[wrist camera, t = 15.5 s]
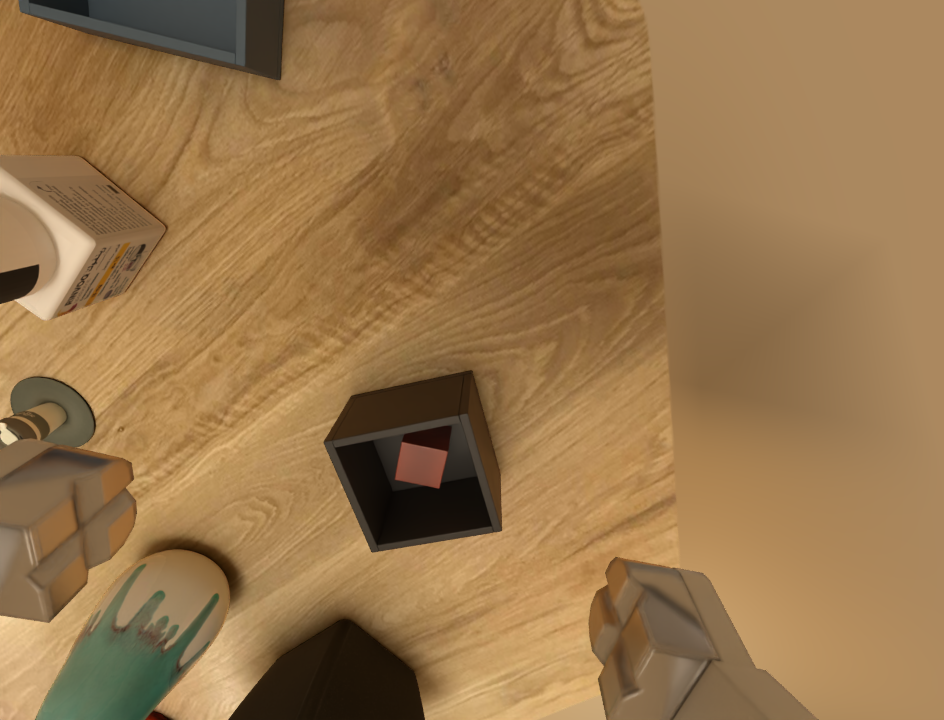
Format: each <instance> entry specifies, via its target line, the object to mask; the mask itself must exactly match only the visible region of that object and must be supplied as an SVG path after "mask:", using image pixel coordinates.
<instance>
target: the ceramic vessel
mask: <svg viewBox="0 0 944 720" xmlns="http://www.w3.org/2000/svg"><path fill="white" fill-rule="evenodd" d="M145 720H169V719H168V718H166V717H164V716H163V715H162V714H160V713H156V712H151V713H150V715H149V716H148V717H147V718H146V719H145Z"/></svg>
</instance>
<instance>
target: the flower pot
mask: <svg viewBox="0 0 944 720" xmlns="http://www.w3.org/2000/svg"><path fill="white" fill-rule="evenodd" d="M228 720H425V717H424V712H423V707H422V702H421V697H420V692H419V688H418V683H417V680H416V676H415V673H414V672H413V671H412V670H411V669H410V668H409V667H407V666H406V665H405V664H404V663H402V662H401V661H400V660H399V659H397V658H396V657H395V656H394V655H392V654H391V653H390V652H389V651H388V650H386V649H385V648H384V647H383V646H381V645H380V644H379V643H377V642H376V641H375V640H374V639H373V638H371V637H370V636H369V635H368V634H366V633H365V632H364V631H363V630H361V629H360V628H359V627H357V626H356V625H355V624H354V623H352V622H351V621H349V620H341V621H339V622H337V623H335V624H334V625H332V626H331V627H329V628H327V629H326V630H324V631H322V632H321V633H319V634H318V635H316V636H314V637H313V638H311V639H309V640H308V641H306V642H304V643H303V644H301V645H300V646H298V647H296V648H295V649H293V650H292V651H290V652H288V653H287V654H285V655H283V656H282V657H280V658H279V659H277V660H276V662H275V663H274V664H273V665H272V666H271V667H270V668H269V670H268V671H267V672H266V673H265V674H264V675H263V677H262V678H261V679H260V680H259V681H258V683H257V684H256V685H255V686H254V688H253V689H252V690H251V691H250V692H249V694H248V695H247V696H246V697H245V699H244V700H243V701H242V702H241V704H240V705H239V706H238V708H237V709H236V710H235V711H234V713H233V714H232V715H231V717H230V718H229V719H228Z"/></svg>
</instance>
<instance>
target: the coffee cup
mask: <svg viewBox="0 0 944 720" xmlns="http://www.w3.org/2000/svg"><path fill="white" fill-rule="evenodd" d="M11 407H12V411H13V413H14V415H12V416H10V417H9V418H4V419H2V420H0V450H1V449H3V448H4V447H6V446H8V445H9V444H11V443H13V442H15V441H17V440H23V439H29V438H32V439H37V440H41V441H45V442H49V443H54V444H58V445H66V446H71V447H75V448H76V447H79V446H82V445H83V444H85V443H86V442H88V441H89V439H90V438H91V436H92V434H93V431H94V420H93V416H92V412H91V410H90V408H89V406H88V404H87V403H86V401H85V400H84V399H83V398H82V397H81V396H80V395H79V394H78V393H77V392H76V391H75V390H73V389H72V388H70V387H69V386H67V385H65V384H63V383H60V382H58V381H55V380H52V379H48V378H42V377H34V378H28V379H25V380H22V381H21V382H19V383H18V384H17V385H16V386H15V387H14V389H13V390H12V393H11Z"/></svg>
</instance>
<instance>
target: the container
mask: <svg viewBox="0 0 944 720" xmlns="http://www.w3.org/2000/svg"><path fill="white" fill-rule="evenodd" d="M165 230H166V228H165V226H164V225H163V224H162V223H161V222H160V221H158V220H157V219H156V218H155V217H154V216H152V215H151V214H150V213H149V212H147V211H146V210H145V209H144V208H143V207H141V206H140V205H139V204H138V203H136V202H135V201H134V200H133V199H132V198H130V197H129V196H128V195H127V194H125V193H124V192H123V191H122V190H121V189H119V188H118V187H117V186H116V185H114V184H113V183H112V182H111V181H110V180H108V179H107V178H106V177H105V176H103V175H102V174H101V173H100V172H99V171H97V170H96V169H95V168H94V167H92V166H91V165H90V164H89V163H88V162H86V161H85V160H84V159H83V158H81V157H79V156H39V155H0V304H2V303H6V302H9V301H12V300H15V301H16V302H18V303H19V304H21V305H22V306H23V307H25V308H26V309H28V310H29V311H31V312H32V313H33V314H35V315H36V316H38V317H39V318H40V319H42V320H51V319H54V318H56V317H59V316H62V315H65V314H68V313H70V312H73V311H76V310H79V309H81V308H84V307H87V306H90V305H93V304H95V303H98V302H101V301H104V300H106V299H109V298H112V297H115V296H118V295H120V294H123V293H124V292H125V291H126V289H127V288H128V286H129V285H130V283H131V282H132V280H133V279H134V277H135V276H136V274H137V273H138V271H139V270H140V268H141V267H142V265H143V264H144V262H145V261H146V259H147V258H148V256H149V255H150V253H151V252H152V250H153V249H154V247H155V246H156V244H157V243H158V241H159V240H160V238H161V237H162V235H163V234H164V232H165Z"/></svg>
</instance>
